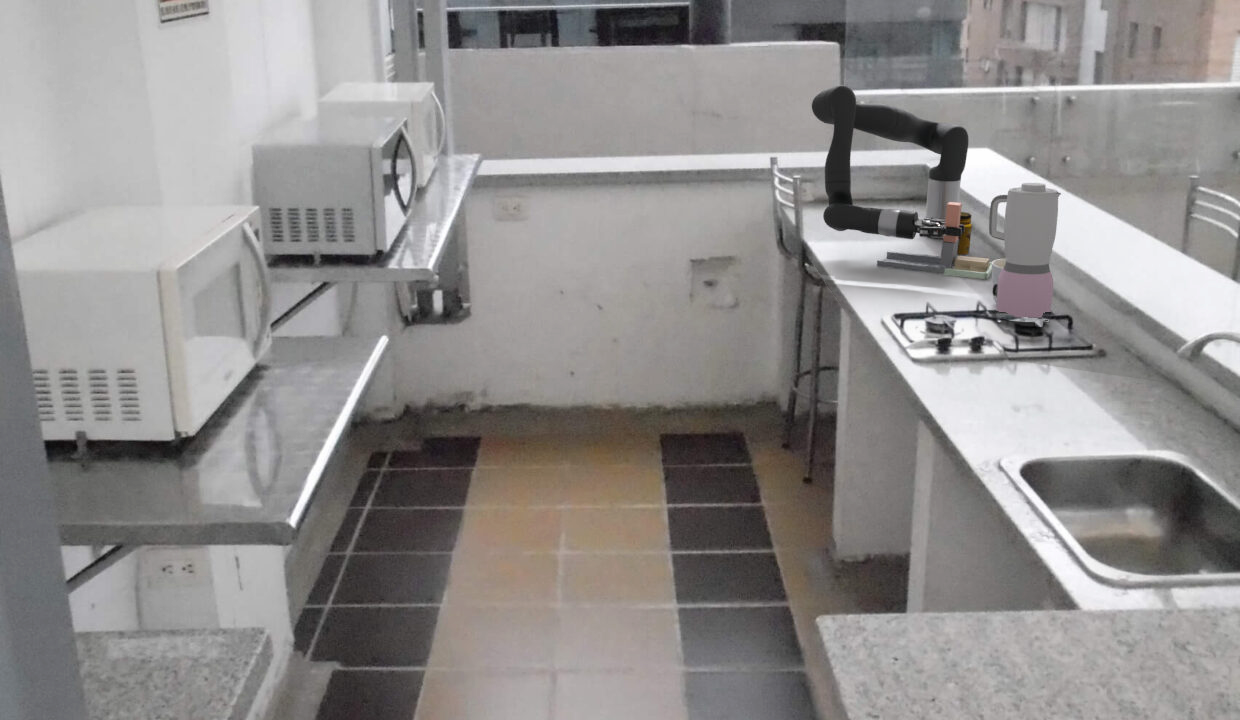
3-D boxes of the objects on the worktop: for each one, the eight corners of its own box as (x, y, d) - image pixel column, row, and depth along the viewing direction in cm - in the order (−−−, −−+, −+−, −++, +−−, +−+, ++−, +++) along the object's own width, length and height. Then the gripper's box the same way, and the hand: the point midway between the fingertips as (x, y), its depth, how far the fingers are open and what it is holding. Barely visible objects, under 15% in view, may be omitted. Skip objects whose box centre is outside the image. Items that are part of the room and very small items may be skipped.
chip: (972, 271, 317) (973, 257, 315) (987, 273, 315) (989, 258, 314) (969, 275, 313) (971, 260, 312) (985, 277, 312) (986, 262, 310)
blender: (1057, 319, 277) (1070, 182, 269) (1041, 330, 268) (1054, 189, 259) (991, 311, 286) (1001, 178, 278) (973, 321, 277) (983, 184, 268)
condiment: (975, 256, 334) (979, 214, 330) (954, 260, 330) (959, 218, 326) (955, 250, 340) (959, 209, 336) (934, 255, 336) (938, 213, 332)
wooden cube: (957, 270, 318) (958, 255, 317) (972, 271, 317) (973, 257, 315) (954, 273, 315) (955, 259, 314) (969, 275, 313) (970, 260, 312)
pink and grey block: (944, 258, 321) (950, 200, 315) (956, 260, 319) (963, 201, 314) (939, 264, 315) (945, 205, 310) (951, 266, 314) (958, 206, 308)
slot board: (887, 259, 331) (888, 250, 330) (952, 267, 323) (953, 258, 322) (876, 269, 320) (877, 260, 320) (943, 277, 313) (944, 268, 312)
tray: (952, 267, 323) (953, 258, 322) (994, 271, 319) (995, 262, 318) (943, 277, 313) (944, 268, 312) (986, 282, 308) (987, 273, 308)
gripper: (892, 215, 313) (959, 222, 306) (905, 204, 325) (969, 211, 318) (890, 242, 315) (956, 250, 308) (902, 231, 327) (966, 238, 320)
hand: (962, 230), depth 313 cm, fingers closed on pink and grey block, 3 cm apart
